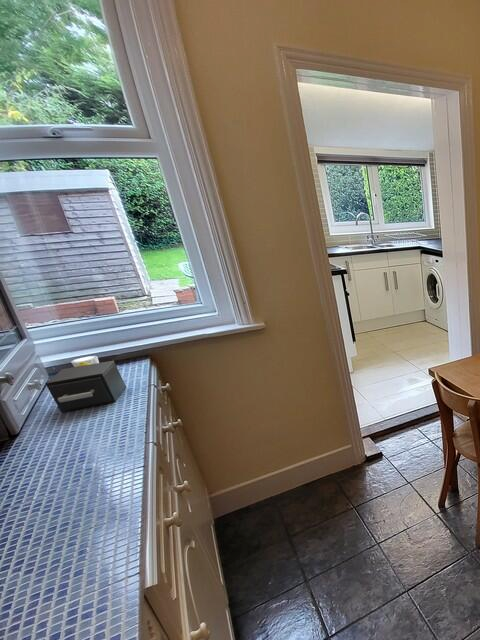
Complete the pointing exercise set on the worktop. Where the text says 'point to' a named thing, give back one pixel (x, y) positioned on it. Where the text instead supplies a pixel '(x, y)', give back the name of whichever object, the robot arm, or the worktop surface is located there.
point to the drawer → (80, 393)
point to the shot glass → (85, 360)
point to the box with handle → (104, 370)
